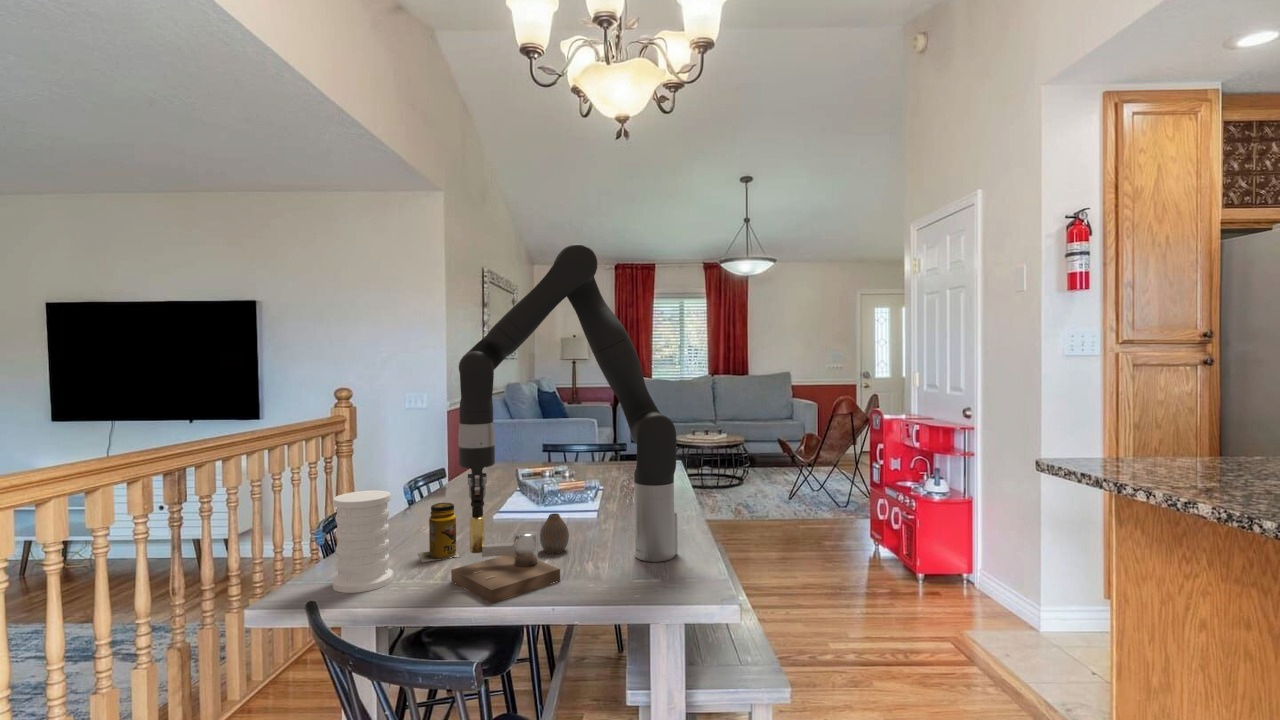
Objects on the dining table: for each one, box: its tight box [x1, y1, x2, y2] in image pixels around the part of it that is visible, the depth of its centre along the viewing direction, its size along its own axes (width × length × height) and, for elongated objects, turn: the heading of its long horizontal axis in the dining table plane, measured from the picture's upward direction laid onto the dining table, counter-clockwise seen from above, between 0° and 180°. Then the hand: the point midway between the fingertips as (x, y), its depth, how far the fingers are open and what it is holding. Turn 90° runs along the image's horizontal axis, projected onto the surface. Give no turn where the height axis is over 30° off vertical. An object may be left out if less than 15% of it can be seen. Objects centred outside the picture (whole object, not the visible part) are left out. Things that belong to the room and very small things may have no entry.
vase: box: [539, 512, 570, 554], centre depth 145 cm, size 7×7×9 cm
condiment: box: [418, 502, 461, 563], centre depth 143 cm, size 7×8×12 cm
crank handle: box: [469, 515, 539, 566], centre depth 128 cm, size 14×5×10 cm, turn 100°
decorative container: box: [332, 489, 395, 594], centre depth 126 cm, size 12×12×18 cm
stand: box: [450, 555, 561, 604], centre depth 126 cm, size 16×16×3 cm
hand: (477, 523), depth 131 cm, fingers closed
